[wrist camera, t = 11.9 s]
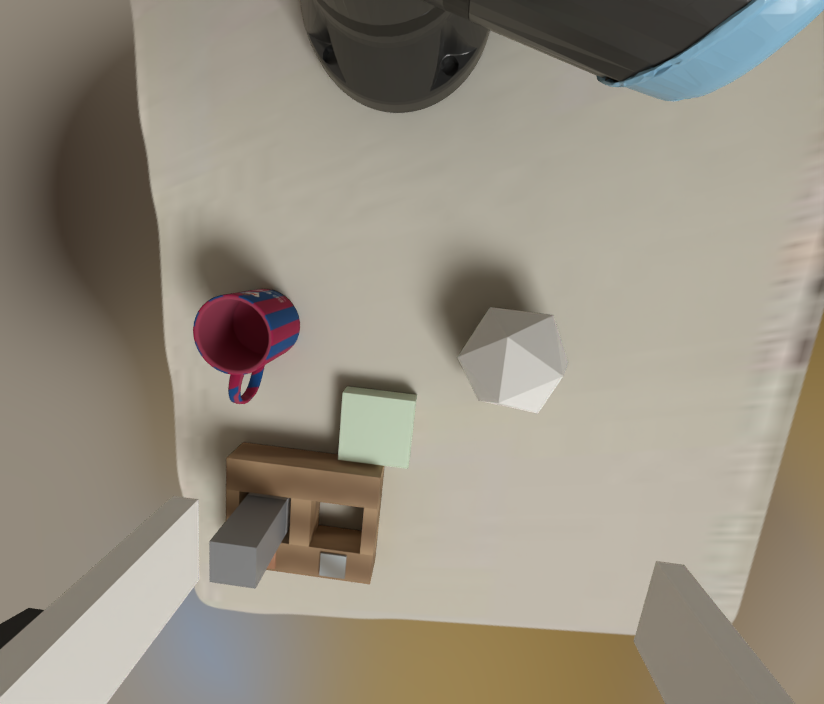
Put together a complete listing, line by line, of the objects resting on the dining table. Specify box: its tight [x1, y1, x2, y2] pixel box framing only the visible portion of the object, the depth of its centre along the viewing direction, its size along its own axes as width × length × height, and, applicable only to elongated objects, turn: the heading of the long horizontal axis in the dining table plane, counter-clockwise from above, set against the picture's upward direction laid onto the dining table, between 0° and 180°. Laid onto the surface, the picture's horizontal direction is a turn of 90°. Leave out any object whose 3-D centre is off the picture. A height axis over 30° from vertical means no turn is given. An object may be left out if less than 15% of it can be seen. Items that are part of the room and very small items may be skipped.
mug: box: [193, 289, 300, 404], centre depth 37 cm, size 7×10×7 cm
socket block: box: [226, 442, 384, 584], centre depth 42 cm, size 12×15×4 cm
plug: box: [210, 492, 291, 588], centre depth 40 cm, size 4×4×10 cm
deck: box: [338, 386, 417, 469], centre depth 41 cm, size 7×7×2 cm
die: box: [457, 307, 568, 413], centre depth 35 cm, size 8×9×10 cm
